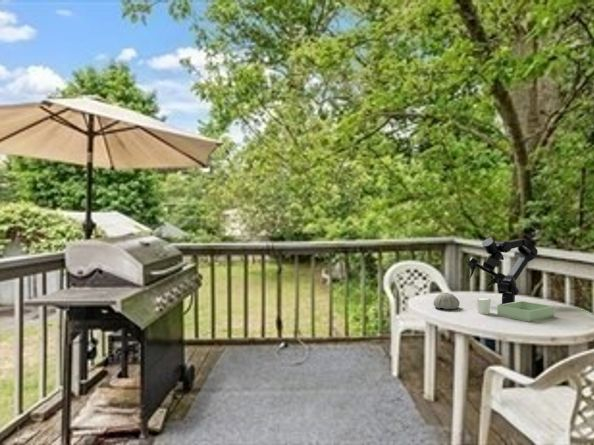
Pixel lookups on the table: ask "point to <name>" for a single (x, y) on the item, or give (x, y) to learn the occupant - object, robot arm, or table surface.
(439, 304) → the sea urchin shell
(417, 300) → the table surface
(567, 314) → the table surface
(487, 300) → the shot glass
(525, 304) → the bin
